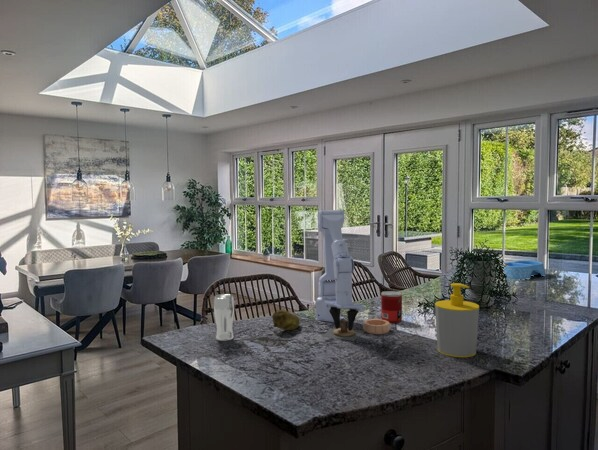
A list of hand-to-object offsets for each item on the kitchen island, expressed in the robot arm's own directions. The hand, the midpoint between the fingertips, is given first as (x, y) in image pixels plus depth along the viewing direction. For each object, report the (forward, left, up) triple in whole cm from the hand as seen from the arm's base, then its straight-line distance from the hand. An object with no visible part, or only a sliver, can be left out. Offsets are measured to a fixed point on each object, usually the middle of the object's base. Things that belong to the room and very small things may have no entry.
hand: (344, 329), depth 153 cm
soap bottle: (+38, 0, -2) cm, 38 cm away
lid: (0, 0, -2) cm, 2 cm away
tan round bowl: (+9, +9, -2) cm, 13 cm away
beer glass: (-36, -22, -2) cm, 42 cm away
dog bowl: (+54, +155, -3) cm, 164 cm away
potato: (-21, -4, -2) cm, 22 cm away
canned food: (+10, +25, -2) cm, 27 cm away
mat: (0, 0, -2) cm, 2 cm away
